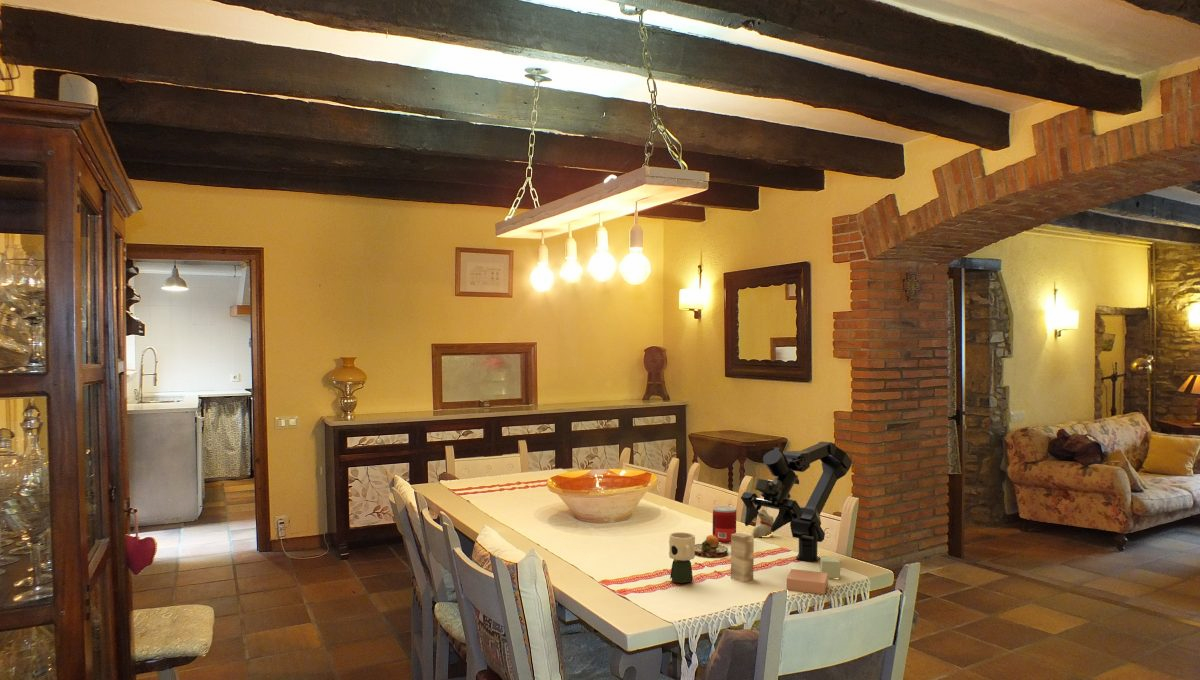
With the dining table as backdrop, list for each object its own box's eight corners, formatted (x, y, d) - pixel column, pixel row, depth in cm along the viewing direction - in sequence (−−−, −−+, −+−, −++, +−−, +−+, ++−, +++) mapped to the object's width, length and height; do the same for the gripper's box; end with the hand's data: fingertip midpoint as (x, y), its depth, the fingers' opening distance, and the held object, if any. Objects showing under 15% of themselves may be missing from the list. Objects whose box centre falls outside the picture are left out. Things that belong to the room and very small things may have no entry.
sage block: (820, 573, 222) (820, 556, 222) (838, 574, 221) (838, 557, 221) (821, 578, 217) (822, 561, 217) (840, 579, 216) (840, 562, 216)
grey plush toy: (774, 538, 263) (774, 509, 264) (751, 537, 265) (751, 508, 265) (773, 535, 269) (773, 506, 269) (750, 533, 270) (751, 505, 270)
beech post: (740, 575, 219) (741, 531, 219) (753, 579, 215) (753, 534, 215) (730, 578, 216) (731, 534, 216) (743, 582, 212) (744, 537, 212)
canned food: (740, 542, 257) (740, 509, 258) (719, 544, 255) (720, 511, 255) (728, 537, 265) (728, 505, 265) (708, 538, 262) (708, 506, 262)
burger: (716, 547, 251) (716, 524, 251) (735, 556, 240) (735, 533, 240) (684, 550, 246) (684, 527, 247) (701, 560, 235) (701, 535, 236)
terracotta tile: (791, 579, 215) (791, 568, 215) (827, 583, 212) (827, 573, 212) (786, 589, 206) (786, 578, 206) (824, 594, 202) (824, 583, 202)
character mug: (663, 576, 216) (663, 531, 216) (686, 575, 218) (687, 530, 218) (675, 588, 205) (676, 540, 206) (700, 587, 207) (701, 539, 207)
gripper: (744, 465, 231) (721, 505, 224) (797, 472, 218) (774, 516, 210) (760, 488, 237) (737, 528, 229) (812, 497, 223) (790, 540, 215)
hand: (758, 528), depth 221 cm, fingers open, 9 cm apart
